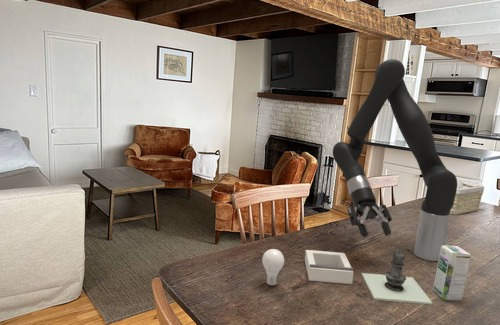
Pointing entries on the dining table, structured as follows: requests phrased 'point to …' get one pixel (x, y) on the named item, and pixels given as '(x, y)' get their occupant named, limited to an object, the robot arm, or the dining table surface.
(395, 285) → the grey chess piece
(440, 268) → the syrup box
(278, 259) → the lightbulb
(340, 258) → the holder
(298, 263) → the dining table surface
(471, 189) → the storage basket
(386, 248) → the dining table surface
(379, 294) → the mat
